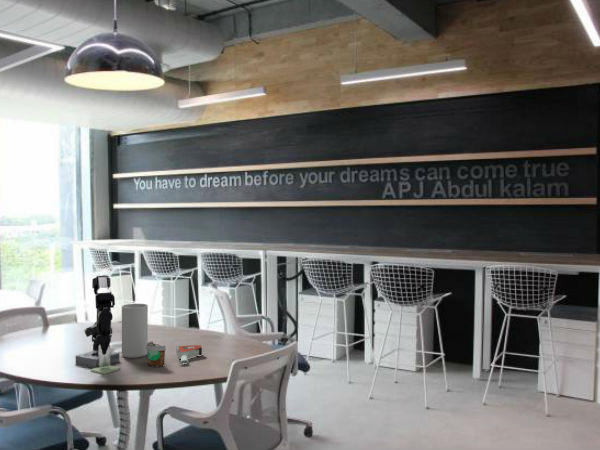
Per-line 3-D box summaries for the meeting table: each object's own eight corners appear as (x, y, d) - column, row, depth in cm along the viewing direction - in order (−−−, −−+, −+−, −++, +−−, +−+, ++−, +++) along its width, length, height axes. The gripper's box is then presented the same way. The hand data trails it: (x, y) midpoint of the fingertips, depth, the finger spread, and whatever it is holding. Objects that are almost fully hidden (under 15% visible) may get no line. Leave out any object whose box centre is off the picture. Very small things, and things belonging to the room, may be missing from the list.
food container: (140, 364, 267) (140, 343, 267) (152, 361, 272) (152, 341, 271) (154, 369, 259) (154, 347, 258) (165, 366, 263) (165, 345, 263)
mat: (106, 366, 263) (106, 364, 263) (119, 369, 258) (119, 367, 258) (90, 371, 255) (90, 369, 255) (104, 374, 250) (104, 372, 250)
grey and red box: (183, 370, 264) (213, 358, 280) (182, 359, 264) (213, 348, 280) (158, 362, 275) (188, 351, 291) (157, 351, 274) (188, 341, 290)
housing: (99, 357, 279) (99, 349, 278) (119, 361, 272) (119, 352, 272) (75, 363, 266) (75, 355, 266) (96, 368, 260) (96, 359, 259)
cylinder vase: (117, 354, 284) (117, 305, 283) (141, 350, 292) (141, 302, 291) (127, 359, 274) (127, 308, 274) (151, 355, 282) (151, 306, 282)
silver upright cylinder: (104, 363, 260) (104, 343, 260) (112, 364, 258) (112, 345, 257) (96, 365, 256) (96, 346, 256) (104, 367, 253) (103, 347, 253)
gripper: (87, 316, 263) (87, 349, 263) (83, 324, 245) (83, 359, 245) (112, 315, 266) (112, 347, 266) (110, 323, 248) (110, 358, 249)
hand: (104, 353), depth 257 cm, fingers closed on silver upright cylinder, 5 cm apart
